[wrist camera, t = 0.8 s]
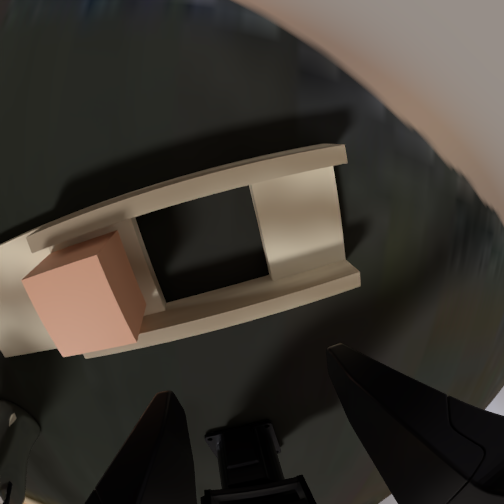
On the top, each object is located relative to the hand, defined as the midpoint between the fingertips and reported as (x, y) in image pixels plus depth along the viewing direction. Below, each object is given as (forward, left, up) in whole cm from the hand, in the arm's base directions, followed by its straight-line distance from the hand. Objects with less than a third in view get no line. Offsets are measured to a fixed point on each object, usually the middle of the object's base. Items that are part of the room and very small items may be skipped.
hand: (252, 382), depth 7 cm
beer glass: (-13, +27, -12) cm, 33 cm away
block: (0, +8, -11) cm, 14 cm away
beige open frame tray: (0, +6, -12) cm, 14 cm away
